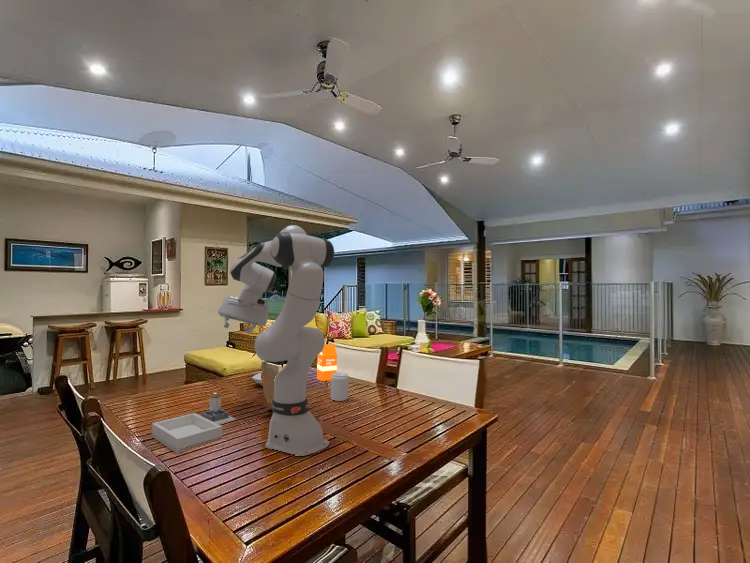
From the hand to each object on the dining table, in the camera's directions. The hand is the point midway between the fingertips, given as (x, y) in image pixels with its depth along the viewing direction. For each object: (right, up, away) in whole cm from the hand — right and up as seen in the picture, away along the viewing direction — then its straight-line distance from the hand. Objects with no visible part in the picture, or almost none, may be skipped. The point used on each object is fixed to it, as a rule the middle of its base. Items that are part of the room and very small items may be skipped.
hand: (236, 330), depth 161 cm
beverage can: (+40, -36, +23) cm, 58 cm away
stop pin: (-6, -33, -8) cm, 35 cm away
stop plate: (-6, -34, -8) cm, 36 cm away
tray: (-9, -34, -25) cm, 43 cm away
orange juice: (+30, -36, +59) cm, 75 cm away
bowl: (+5, -35, +46) cm, 58 cm away
